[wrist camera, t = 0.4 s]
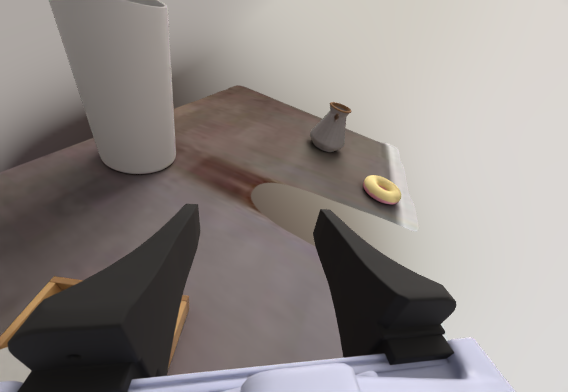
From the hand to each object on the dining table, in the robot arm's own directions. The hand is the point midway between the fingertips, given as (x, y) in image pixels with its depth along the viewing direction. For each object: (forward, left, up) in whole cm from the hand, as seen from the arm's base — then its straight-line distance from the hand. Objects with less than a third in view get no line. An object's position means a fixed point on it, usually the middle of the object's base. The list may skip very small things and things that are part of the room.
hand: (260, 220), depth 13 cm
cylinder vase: (+28, +24, -20) cm, 42 cm away
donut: (+36, -32, -20) cm, 53 cm away
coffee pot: (+51, -17, -20) cm, 58 cm away
